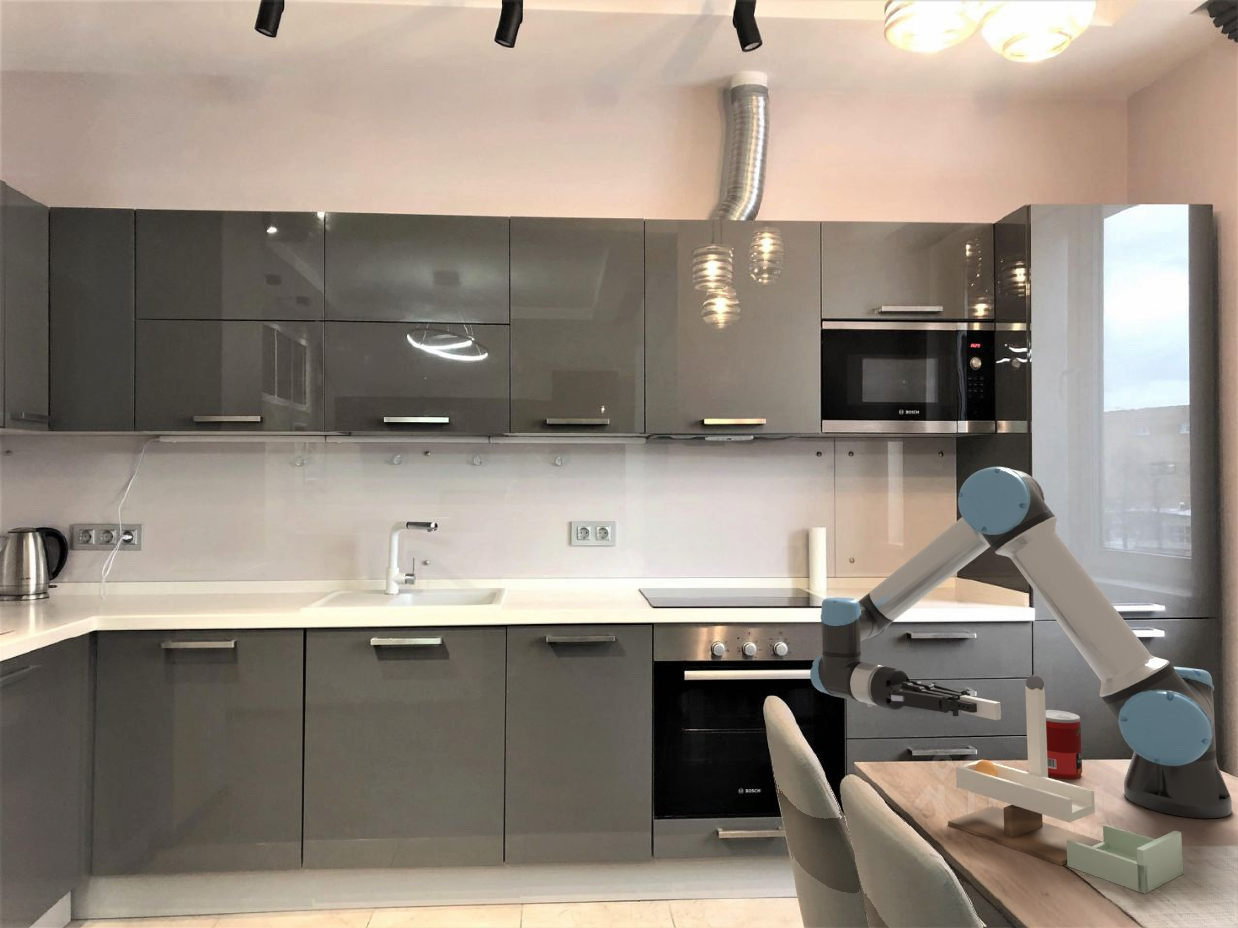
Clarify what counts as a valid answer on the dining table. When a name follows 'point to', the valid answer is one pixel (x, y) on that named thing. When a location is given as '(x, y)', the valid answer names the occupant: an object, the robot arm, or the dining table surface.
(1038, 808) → the seesaw
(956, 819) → the stand
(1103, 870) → the tray
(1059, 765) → the canned food
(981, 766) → the ball
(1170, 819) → the dining table surface
